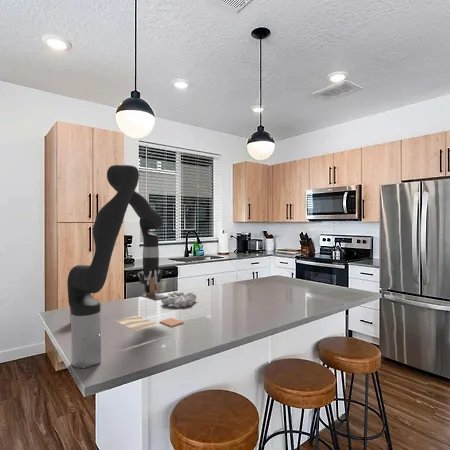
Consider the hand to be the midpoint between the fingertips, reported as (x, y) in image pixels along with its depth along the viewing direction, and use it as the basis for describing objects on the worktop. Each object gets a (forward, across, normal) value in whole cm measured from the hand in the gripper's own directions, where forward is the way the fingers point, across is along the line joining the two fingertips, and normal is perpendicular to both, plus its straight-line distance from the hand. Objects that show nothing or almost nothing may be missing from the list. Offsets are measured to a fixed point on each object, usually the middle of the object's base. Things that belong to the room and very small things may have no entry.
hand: (150, 292), depth 151 cm
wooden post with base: (+2, 0, -3) cm, 4 cm away
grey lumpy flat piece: (+14, +31, +18) cm, 38 cm away
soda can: (+15, -24, +24) cm, 37 cm away
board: (+15, -6, +2) cm, 16 cm away
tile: (+14, +5, -5) cm, 16 cm away
